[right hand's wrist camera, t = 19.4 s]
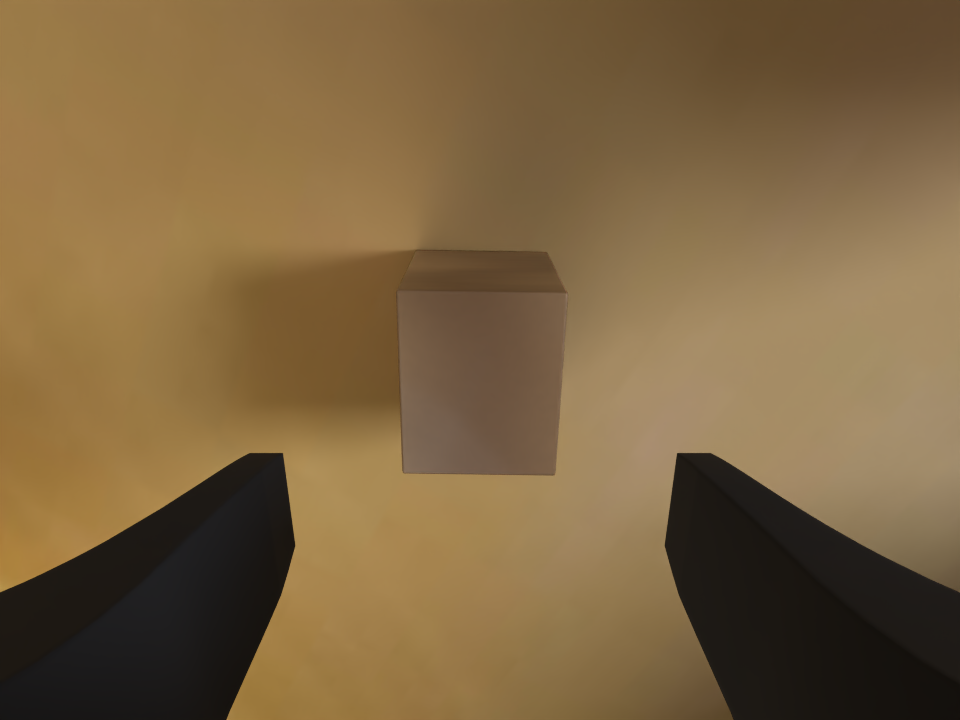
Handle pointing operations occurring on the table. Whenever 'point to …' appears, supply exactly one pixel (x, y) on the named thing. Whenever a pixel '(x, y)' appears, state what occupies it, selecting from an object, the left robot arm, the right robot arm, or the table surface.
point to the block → (480, 362)
